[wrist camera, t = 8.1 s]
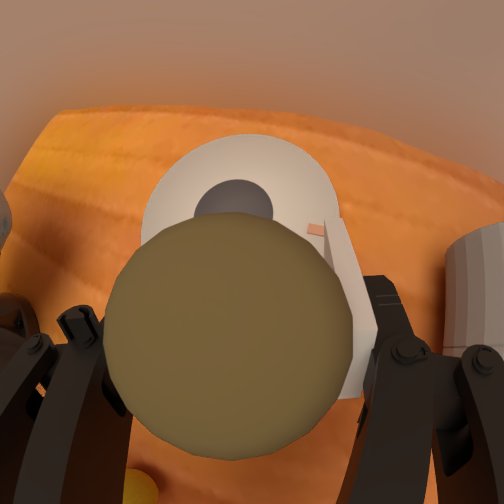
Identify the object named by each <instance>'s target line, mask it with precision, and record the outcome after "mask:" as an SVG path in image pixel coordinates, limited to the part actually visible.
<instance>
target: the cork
mask: <svg viewBox="0 0 504 504" xmlns="http://www.w3.org/2000/svg"><path fill="white" fill-rule="evenodd" d="M103 346H104V351H105V356H106V361H107V365H108V370H109V374H110V378H111V380H112V382H113V384H114V386H115V387H116V389H117V391H118V393H119V395H120V397H121V399H122V400H123V402H124V404H125V406H126V407H127V409H128V410H129V411H130V412H131V413H132V414H133V415H134V416H135V417H136V418H137V419H138V420H139V421H140V422H141V423H142V424H143V425H144V426H145V427H146V428H147V429H148V430H149V431H150V432H151V433H152V434H154V435H155V436H157V437H158V438H160V439H162V440H164V441H166V442H168V443H169V444H171V445H173V446H175V447H177V448H179V449H181V450H183V451H185V452H188V453H190V454H192V455H196V456H201V457H207V458H214V459H221V460H229V461H235V460H241V459H247V458H252V457H258V456H263V455H268V454H272V453H274V452H276V451H278V450H280V449H281V448H283V447H285V446H287V445H288V444H290V443H292V442H294V441H295V440H297V439H299V438H300V437H302V436H304V435H305V434H307V433H309V432H310V431H311V430H312V429H313V428H314V427H315V425H316V424H317V423H318V422H319V421H320V420H321V418H322V417H323V416H324V415H325V414H326V412H327V411H328V410H329V409H330V408H331V406H332V405H333V404H334V403H335V401H336V400H337V399H338V398H339V396H340V393H341V390H342V388H343V385H344V382H345V379H346V377H347V374H348V371H349V368H350V365H351V362H352V359H353V315H352V312H351V310H350V307H349V304H348V301H347V298H346V295H345V293H344V290H343V287H342V284H341V282H340V279H339V277H338V276H337V274H336V273H335V272H334V271H333V269H332V268H331V267H330V266H329V264H328V263H327V262H326V261H325V259H324V258H323V257H322V256H321V255H320V253H319V252H318V251H317V250H316V248H315V247H314V246H313V245H312V244H311V243H310V242H309V241H307V240H306V239H304V238H303V237H301V236H299V235H298V234H296V233H295V232H293V231H292V230H290V229H288V228H287V227H285V226H284V225H282V224H280V223H279V222H277V221H275V220H271V219H267V218H263V217H259V216H255V215H251V214H247V213H243V212H224V213H209V214H201V215H198V216H196V217H193V218H190V219H188V220H185V221H183V222H180V223H178V224H175V225H172V226H170V227H167V228H165V229H163V230H162V231H160V232H159V233H158V234H156V235H155V236H154V237H153V238H151V239H150V240H149V241H147V242H146V243H145V244H144V245H142V246H141V247H140V248H139V249H137V250H136V251H135V253H134V254H133V256H132V257H131V258H130V260H129V261H128V262H127V264H126V265H125V267H124V268H123V269H122V271H121V272H120V274H119V275H118V277H117V278H116V281H115V284H114V286H113V289H112V292H111V295H110V297H109V300H108V303H107V306H106V309H105V319H104V335H103Z"/></svg>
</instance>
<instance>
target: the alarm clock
mask: <svg viewBox="0 0 504 504" xmlns="http://www.w3.org/2000/svg"><path fill="white" fill-rule="evenodd" d="M445 267H446V310H445V330H444V343H443V346H444V348H443V354H442V355H445V356H453V357H461V356H462V354H463V352H464V351H465V350H466V349H467V348H468V347H470V346H472V345H475V344H483V345H486V346H489V347H492V348H493V349H494V350H496V351H497V352H498V353H499V354H500V356H501V357H502V358H503V360H504V222H499V223H495V224H492V225H488V226H485V227H482V228H479V229H477V230H475V231H473V232H471V233H469V234H466V235H464V236H463V237H461V238H460V239H458V240H457V241H455V242H454V243H453V244H452V245H451V246H450V247H449V248H448V249H447V251H446V254H445Z"/></svg>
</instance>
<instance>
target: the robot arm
mask: <svg viewBox="0 0 504 504" xmlns="http://www.w3.org/2000/svg"><path fill="white" fill-rule="evenodd" d="M11 228H12V214H11V210H10V207H9V205H8V202H7V200H6V198H5V196H4V195H3V193H2V192H1V190H0V255H1V250H2V248H3V245H4V243H5V241H6V239H7V237H8V235H9V233H10V231H11ZM324 259H325V261H326V262H327V263H328V264H329V266H330V267H331V268H332V269H333V271H334V272H335V273H336V274H337V276H338V277H339V279H340V282H341V284H342V287H343V290H344V293H345V295H346V298H347V301H348V304H349V307H350V310H351V312H352V315H353V359H352V362H351V365H350V368H349V371H348V374H347V377H346V379H345V382H344V385H343V388H342V390H341V393H340V396H339V398H338V399H348V398H360V397H361V393H362V390H364V398H365V402H364V405H363V408H362V411H361V414H360V416H359V419H358V422H357V423H359V425H358V429H357V434H356V438H355V442H354V446H353V449H352V453H351V457H350V460H349V464H348V467H347V471H346V474H345V477H344V481H343V484H342V487H341V490H340V493H339V496H338V499H337V502H336V504H424V498H425V493H426V487H427V480H428V473H429V465H430V456H431V448H432V454H433V460H434V467H435V475H436V483H437V493H438V504H504V360H503V358H502V357H501V356H500V354H499V353H498V352H497V351H496V350H494V349H493V348H492V347H489V346H486V345H483V344H475V345H472V346H470V347H468V348H467V349H466V350H465V351H464V352H463V354H462V356H461V357H453V356H445V355H439V354H435V353H433V352H431V350H430V347H429V346H428V345H427V344H426V343H425V342H424V341H423V340H421V339H420V338H418V337H416V336H415V335H414V333H413V330H412V327H411V325H410V322H409V320H408V317H407V315H406V312H405V310H404V307H403V305H402V304H401V300H400V298H399V296H398V293H397V291H396V288H395V286H394V284H393V283H392V282H391V281H390V280H389V279H388V278H386V277H385V276H384V275H376V276H362V273H361V270H360V267H359V264H358V261H357V258H356V255H355V252H354V249H353V247H352V244H351V241H350V238H349V235H348V232H347V230H346V227H345V224H344V222H343V219H342V218H325V219H324ZM104 319H105V316H104V317H103V319H102V320H101V321H100V323H99V321H98V319H97V317H96V315H95V313H94V311H93V309H92V307H90V306H88V305H78V306H74V307H72V308H70V309H68V310H66V311H65V312H63V313H62V314H61V315H60V316H59V317H58V319H57V322H58V324H59V326H60V327H61V329H62V331H63V333H64V335H65V336H66V338H67V340H68V343H67V344H57V345H54V343H53V342H52V340H51V338H50V337H49V335H47V334H45V333H39V328H38V323H37V320H36V316H35V314H34V311H33V309H32V307H31V305H30V304H29V302H28V301H27V300H26V299H25V298H23V297H22V296H19V295H16V294H12V293H0V504H123V492H124V481H125V472H126V463H127V454H128V447H129V439H130V432H131V426H132V419H133V414H132V413H131V412H130V411H129V410H128V409H127V407H126V406H125V404H124V402H123V400H122V399H121V397H120V395H119V393H118V391H117V389H116V387H115V386H114V384H113V382H112V380H111V378H110V374H109V370H108V365H107V361H106V356H105V351H104V346H103V335H104ZM38 383H40V384H41V385H42V386H43V388H44V389H45V390H46V394H45V396H44V397H42V396H41V394H40V393H39V392H38V391H37V390H36V386H37V385H38Z"/></svg>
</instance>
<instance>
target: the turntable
mask: <svg viewBox="0 0 504 504" xmlns="http://www.w3.org/2000/svg"><path fill="white" fill-rule="evenodd" d="M224 212H243V213H247V214H251V215H255V216H259V217H263V218H267V219H271V220H275V221H277V222H279V223H280V224H282V225H284V226H285V227H287V228H288V229H290V230H292V231H293V232H295V233H296V234H298V235H299V236H301V237H303V238H304V239H306V240H307V241H309V242H310V243H311V244H312V245H313V246H314V247H315V248H316V250H317V251H318V252H319V253H320V255H321V256H322V257H323V258H324V219H325V218H339V206H338V201H337V196H336V193H335V190H334V188H333V185H332V183H331V181H330V179H329V177H328V176H327V174H326V172H325V171H324V170H323V168H322V167H321V166H320V164H319V163H318V162H317V161H316V160H315V159H314V158H313V157H312V156H310V155H309V154H308V153H306V152H305V151H304V150H302V149H301V148H299V147H297V146H296V145H294V144H292V143H290V142H287V141H285V140H282V139H279V138H276V137H272V136H267V135H260V134H239V135H232V136H227V137H222V138H219V139H216V140H213V141H210V142H208V143H205V144H203V145H201V146H199V147H197V148H196V149H194V150H192V151H191V152H189V153H188V154H186V155H185V156H183V157H182V158H181V159H180V160H178V161H177V162H176V163H175V164H174V165H173V166H172V167H171V168H170V169H169V170H168V171H167V172H166V173H165V175H164V176H163V177H162V178H161V180H160V181H159V182H158V184H157V186H156V187H155V189H154V191H153V192H152V194H151V197H150V199H149V201H148V203H147V206H146V209H145V212H144V217H143V221H142V229H141V246H142V245H144V244H145V243H146V242H147V241H149V240H150V239H151V238H153V237H154V236H155V235H156V234H158V233H159V232H160V231H162V230H163V229H165V228H167V227H170V226H172V225H175V224H178V223H180V222H183V221H185V220H188V219H190V218H193V217H196V216H198V215H201V214H209V213H224Z"/></svg>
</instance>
